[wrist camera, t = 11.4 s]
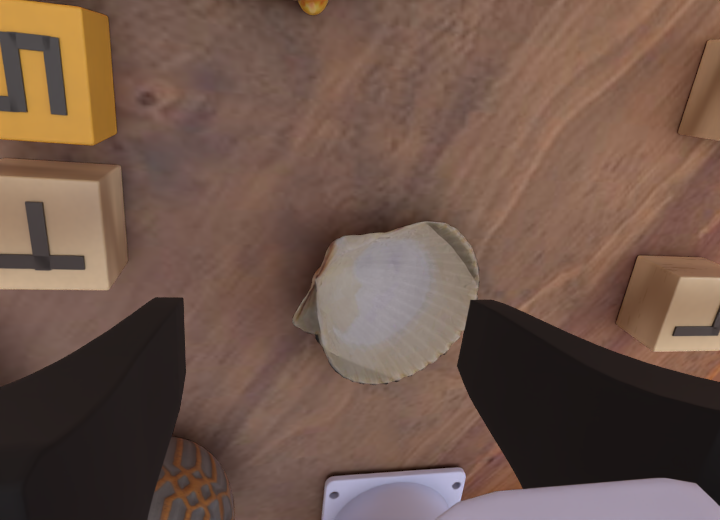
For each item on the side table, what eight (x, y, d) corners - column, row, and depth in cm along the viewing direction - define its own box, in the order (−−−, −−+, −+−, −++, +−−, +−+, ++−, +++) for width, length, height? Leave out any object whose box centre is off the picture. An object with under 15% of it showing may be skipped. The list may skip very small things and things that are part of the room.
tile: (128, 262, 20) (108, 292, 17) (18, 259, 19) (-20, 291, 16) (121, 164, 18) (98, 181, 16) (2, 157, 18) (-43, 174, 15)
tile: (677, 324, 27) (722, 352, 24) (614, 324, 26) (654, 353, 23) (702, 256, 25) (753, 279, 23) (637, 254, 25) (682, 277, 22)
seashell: (398, 353, 26) (502, 249, 23) (413, 400, 24) (532, 292, 20) (262, 304, 22) (365, 169, 19) (265, 356, 20) (383, 212, 16)
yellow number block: (118, 134, 18) (93, 146, 15) (-5, 125, 17) (-52, 136, 15) (108, 15, 17) (79, 6, 14) (-25, -1, 16) (-82, -14, 13)
